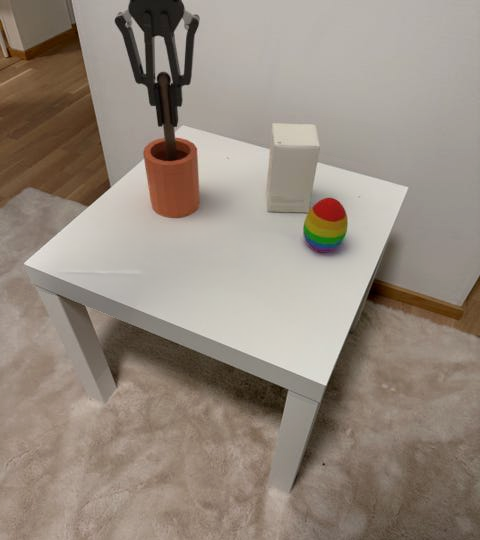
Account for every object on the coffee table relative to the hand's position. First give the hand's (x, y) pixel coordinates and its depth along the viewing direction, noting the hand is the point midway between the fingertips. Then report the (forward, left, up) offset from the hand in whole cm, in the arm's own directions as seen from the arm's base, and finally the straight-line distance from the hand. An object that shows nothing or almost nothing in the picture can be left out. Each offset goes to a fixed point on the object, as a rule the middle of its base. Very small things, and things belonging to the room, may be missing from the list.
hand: (168, 123), depth 81 cm
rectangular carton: (+24, +2, -18) cm, 30 cm away
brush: (0, 0, -14) cm, 14 cm away
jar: (0, 0, -17) cm, 17 cm away
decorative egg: (+30, -12, -18) cm, 37 cm away
